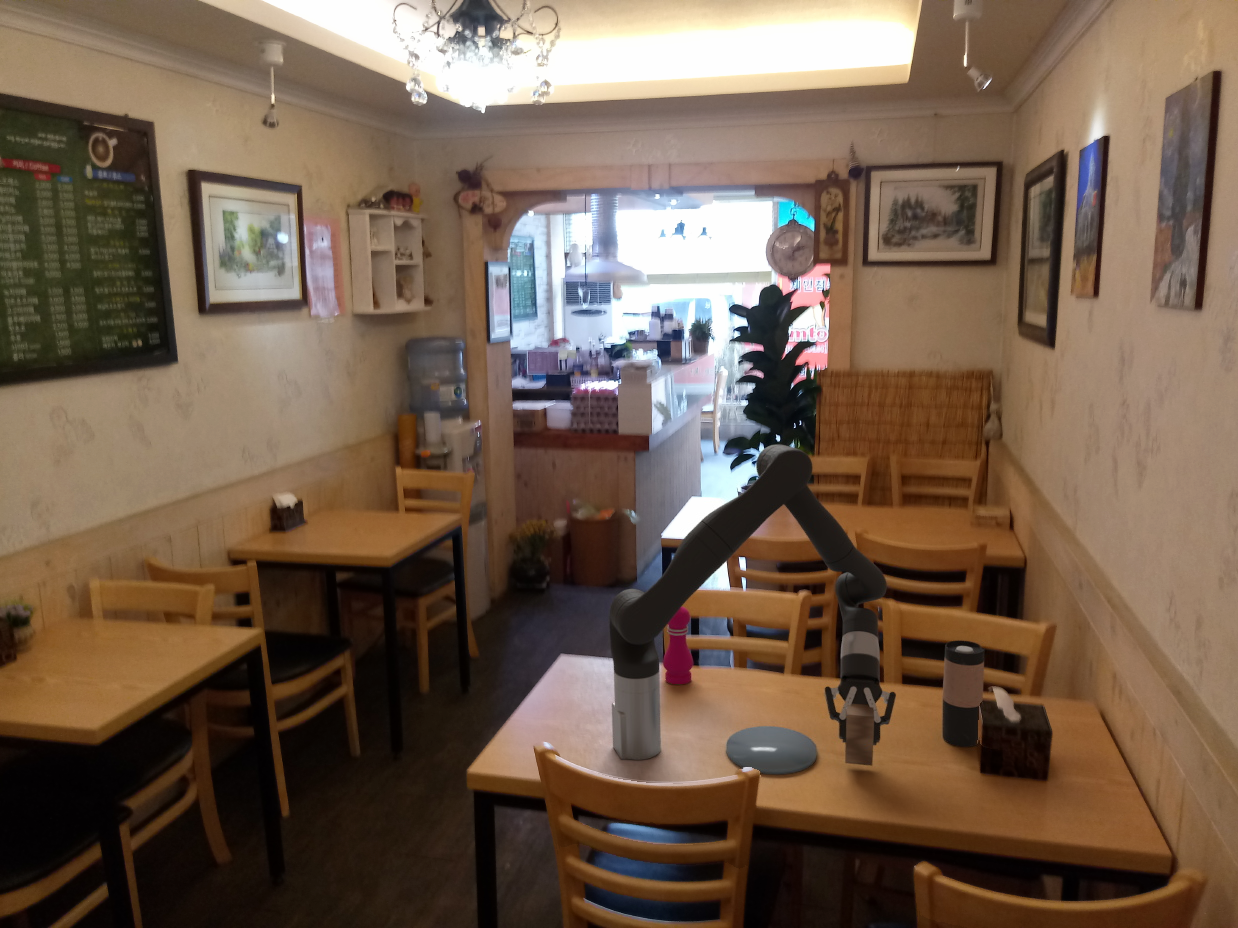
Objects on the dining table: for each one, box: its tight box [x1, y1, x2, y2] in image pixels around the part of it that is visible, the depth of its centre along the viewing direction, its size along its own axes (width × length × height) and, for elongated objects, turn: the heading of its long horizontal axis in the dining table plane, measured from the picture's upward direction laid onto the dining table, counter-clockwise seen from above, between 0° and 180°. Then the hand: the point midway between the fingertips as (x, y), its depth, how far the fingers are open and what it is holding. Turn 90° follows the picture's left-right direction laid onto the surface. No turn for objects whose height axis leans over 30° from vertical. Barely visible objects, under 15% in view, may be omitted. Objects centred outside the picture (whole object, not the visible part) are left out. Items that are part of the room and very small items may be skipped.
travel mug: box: [941, 639, 986, 748], centre depth 190 cm, size 8×8×20 cm
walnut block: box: [844, 704, 874, 766], centre depth 179 cm, size 5×5×10 cm
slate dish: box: [725, 725, 818, 775], centre depth 188 cm, size 18×18×1 cm
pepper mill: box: [662, 606, 694, 685], centre depth 223 cm, size 7×7×20 cm
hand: (859, 742), depth 178 cm, fingers closed on walnut block, 5 cm apart
